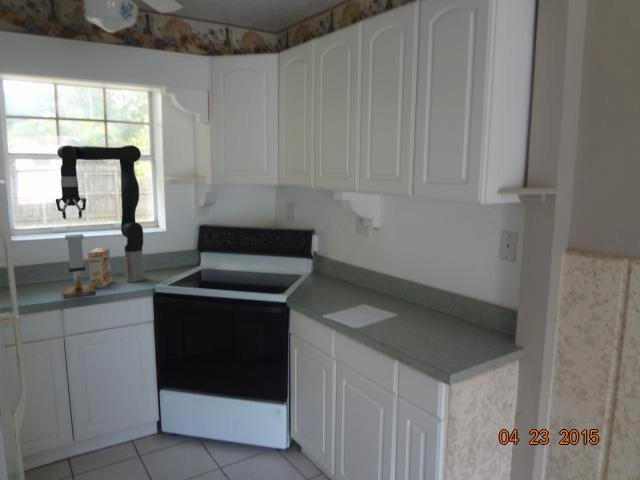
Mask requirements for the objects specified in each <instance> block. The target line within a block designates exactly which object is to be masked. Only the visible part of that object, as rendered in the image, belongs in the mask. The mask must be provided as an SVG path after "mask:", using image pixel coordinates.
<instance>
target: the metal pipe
mask: <svg viewBox="0 0 640 480" xmlns="http://www.w3.org/2000/svg"><path fill="white" fill-rule="evenodd" d="M73 279H74V287H75V290H82V286H83V282H82V281H83V280H82V271H75V272H73Z"/></svg>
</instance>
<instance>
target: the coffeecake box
mask: <svg viewBox="0 0 640 480" xmlns="http://www.w3.org/2000/svg"><path fill="white" fill-rule="evenodd" d="M110 250H111V249H110V247H109V246H108V247H106V246H105V247H96V248H94V249H92V250H90V251H88V252H87V255H88V265H89V266H88V268H89V269H88V270H89V279H90V281H89V285H93V286H94V289H101V288H103V289H104V288H105V287H107V285H109V284H110V283H111V282H113V279H112V267H111V255H110V254H111V253H110Z"/></svg>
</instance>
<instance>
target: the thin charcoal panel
mask: <svg viewBox="0 0 640 480" xmlns="http://www.w3.org/2000/svg"><path fill="white" fill-rule="evenodd" d="M75 271H81V272H84V271H86V265H85V264H84V267H82V268H71V269H70V265H69V266H68V272H69V273H74V272H75Z"/></svg>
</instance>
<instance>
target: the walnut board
mask: <svg viewBox="0 0 640 480" xmlns="http://www.w3.org/2000/svg"><path fill="white" fill-rule="evenodd" d="M95 295H96V291H95V288H94V286H93V285H91V284H89V285H82V290H75V286H71V287H63V288H62V297H63V299H73V298H80V297H81V298H82V297H89V296H95Z"/></svg>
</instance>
